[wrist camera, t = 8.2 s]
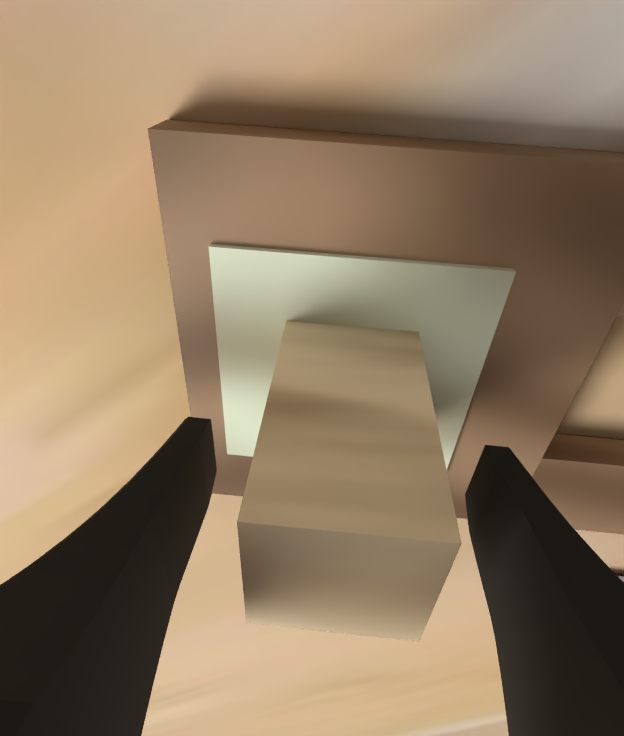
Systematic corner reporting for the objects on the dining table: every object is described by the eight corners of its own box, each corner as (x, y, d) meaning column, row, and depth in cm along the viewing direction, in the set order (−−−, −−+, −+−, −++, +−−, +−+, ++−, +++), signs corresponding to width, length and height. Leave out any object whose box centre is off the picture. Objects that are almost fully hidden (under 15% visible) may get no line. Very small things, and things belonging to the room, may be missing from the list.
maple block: (397, 427, 16) (419, 641, 10) (284, 417, 16) (246, 623, 11) (418, 331, 14) (461, 543, 8) (285, 321, 14) (236, 521, 8)
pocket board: (706, 515, 20) (730, 549, 19) (210, 467, 21) (201, 496, 19) (1027, 182, 11) (1112, 201, 10) (167, 119, 12) (144, 129, 11)
